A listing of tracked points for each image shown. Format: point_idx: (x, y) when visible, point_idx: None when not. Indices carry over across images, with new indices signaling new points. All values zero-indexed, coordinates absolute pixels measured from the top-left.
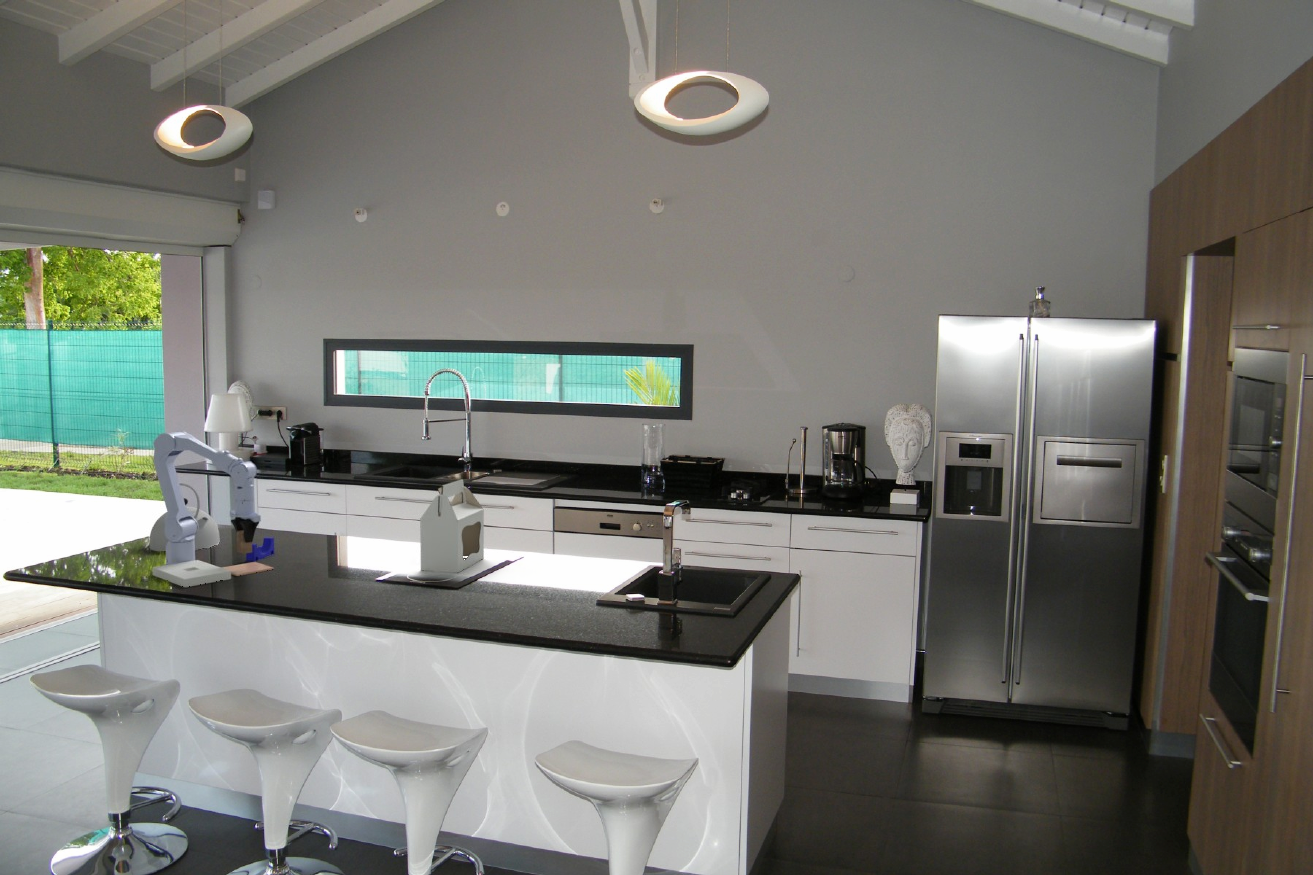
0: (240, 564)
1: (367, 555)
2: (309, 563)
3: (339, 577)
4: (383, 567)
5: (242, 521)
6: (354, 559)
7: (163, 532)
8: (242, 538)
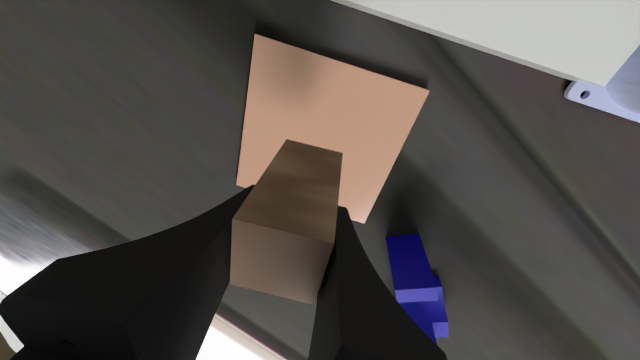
0: (384, 177)
1: None
2: None
3: (7, 180)
4: None
5: (87, 325)
6: None
7: None
8: (256, 185)
